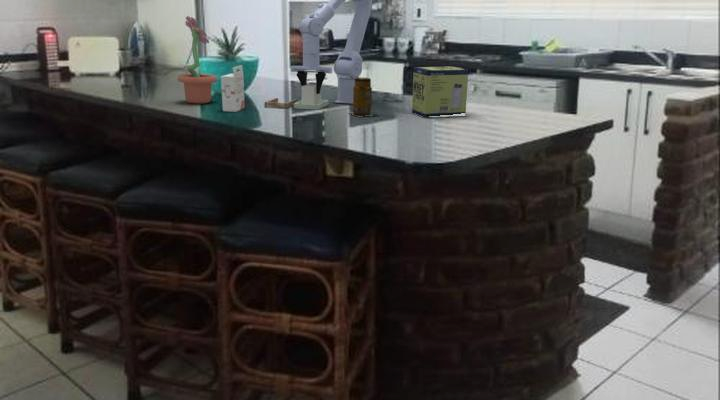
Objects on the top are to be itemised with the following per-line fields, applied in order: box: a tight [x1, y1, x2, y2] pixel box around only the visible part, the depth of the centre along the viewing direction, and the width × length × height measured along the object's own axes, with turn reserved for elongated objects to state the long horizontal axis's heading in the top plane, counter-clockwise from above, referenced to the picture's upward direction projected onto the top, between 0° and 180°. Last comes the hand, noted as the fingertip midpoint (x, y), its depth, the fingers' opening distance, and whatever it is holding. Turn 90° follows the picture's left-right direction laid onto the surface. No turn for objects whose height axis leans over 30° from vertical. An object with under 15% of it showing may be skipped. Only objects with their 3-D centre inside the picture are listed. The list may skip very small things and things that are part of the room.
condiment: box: [352, 77, 373, 118], centre depth 209 cm, size 7×8×12 cm
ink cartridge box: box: [220, 64, 246, 113], centre depth 214 cm, size 9×5×15 cm, turn 168°
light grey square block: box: [301, 81, 322, 105], centre depth 224 cm, size 4×8×8 cm, turn 166°
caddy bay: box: [264, 97, 298, 110], centre depth 225 cm, size 8×11×2 cm
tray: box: [293, 99, 329, 111], centre depth 225 cm, size 9×13×2 cm
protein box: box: [411, 65, 469, 118], centre depth 211 cm, size 10×16×16 cm
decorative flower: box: [177, 15, 218, 105], centre depth 225 cm, size 15×14×30 cm
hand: (311, 93), depth 224 cm, fingers closed on light grey square block, 4 cm apart
